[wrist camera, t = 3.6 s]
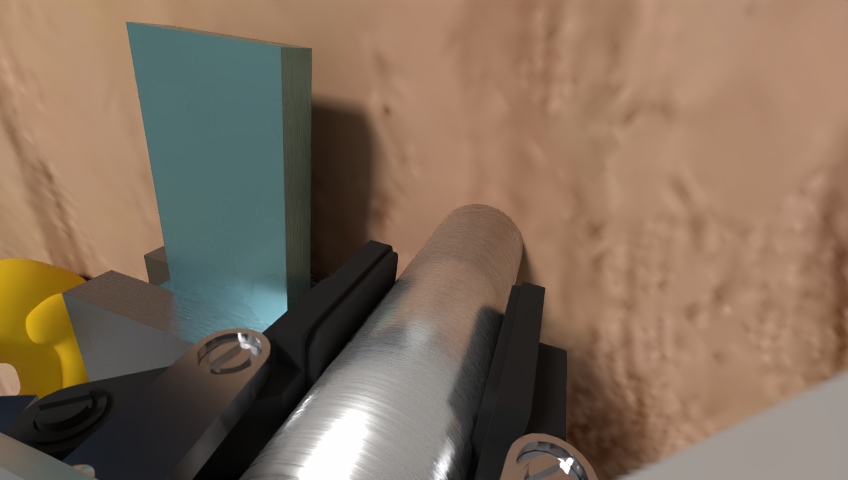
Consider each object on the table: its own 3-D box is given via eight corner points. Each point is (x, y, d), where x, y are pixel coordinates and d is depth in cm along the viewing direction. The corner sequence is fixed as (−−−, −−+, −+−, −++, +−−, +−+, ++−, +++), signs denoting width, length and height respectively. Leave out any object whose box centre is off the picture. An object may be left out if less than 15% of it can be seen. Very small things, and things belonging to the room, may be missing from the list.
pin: (520, 306, 15) (392, 930, 4) (420, 277, 15) (106, 733, 5) (548, 207, 13) (452, 841, 2) (434, 181, 14) (4, 567, 3)
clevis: (376, 504, 22) (328, 613, 18) (209, 431, 24) (131, 511, 20) (431, 63, 12) (356, 66, 8) (145, 18, 15) (-31, 1, 10)
